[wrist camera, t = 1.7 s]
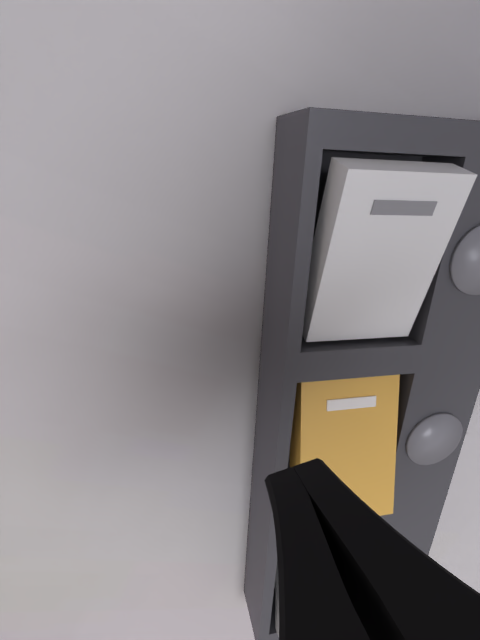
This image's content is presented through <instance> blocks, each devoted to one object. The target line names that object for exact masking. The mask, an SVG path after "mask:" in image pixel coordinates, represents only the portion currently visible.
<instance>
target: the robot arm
mask: <svg viewBox="0 0 480 640" xmlns="http://www.w3.org/2000/svg"><path fill="white" fill-rule="evenodd" d="M264 481H265V485H266V488H267V492H268V496H269V500H270V504H271V508H272V512H273V518H274V526H275V534H276V547H277V560H278V580H279V640H480V593H478V592H477V591H475V590H474V589H472V588H471V587H470V586H468V585H467V584H465V583H464V582H462V581H461V580H460V579H458V578H457V577H456V576H454V575H453V574H452V573H450V572H449V571H447V570H446V569H445V568H443V567H442V566H441V565H439V564H438V563H437V562H436V561H434V560H433V559H432V558H430V557H429V556H428V555H427V554H425V553H424V552H423V551H421V550H420V549H419V548H418V547H416V546H415V545H414V544H413V543H411V542H410V541H409V540H408V539H406V538H405V537H404V536H403V535H402V534H400V533H399V532H398V531H397V530H396V529H394V528H393V527H392V526H391V525H390V524H389V523H387V522H386V521H385V520H384V519H383V518H382V517H380V516H379V515H378V514H377V513H376V512H375V511H373V510H372V509H371V508H370V507H369V506H368V505H367V504H366V503H365V502H364V501H362V500H361V499H360V498H359V497H358V496H357V495H356V494H355V493H354V492H353V491H352V490H351V489H350V488H349V487H348V486H347V485H346V484H345V483H344V482H343V481H342V480H341V479H340V478H339V477H338V476H337V475H336V474H335V473H334V472H333V471H332V470H331V469H330V468H329V467H328V466H327V465H326V464H325V463H324V462H323V460H321V459H319V458H316V459H313V460H310V461H307V462H304V463H301V464H299V465H296V466H293V467H290V468H287V469H284V470H281V471H278V472H275V473H272V474H269V475H268V476H267V477H266V479H265V480H264Z"/></svg>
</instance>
